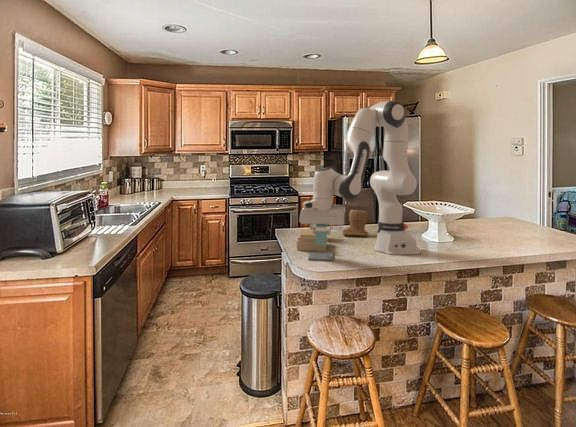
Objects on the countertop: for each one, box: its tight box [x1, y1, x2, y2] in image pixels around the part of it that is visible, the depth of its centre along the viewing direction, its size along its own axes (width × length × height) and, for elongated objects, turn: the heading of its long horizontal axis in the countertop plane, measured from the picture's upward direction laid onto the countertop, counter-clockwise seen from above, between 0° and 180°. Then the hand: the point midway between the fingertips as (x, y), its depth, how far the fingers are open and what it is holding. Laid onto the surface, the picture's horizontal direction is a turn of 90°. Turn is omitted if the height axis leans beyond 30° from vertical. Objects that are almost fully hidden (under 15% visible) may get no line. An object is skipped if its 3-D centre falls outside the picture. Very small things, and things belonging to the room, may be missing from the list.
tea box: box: [315, 224, 328, 246], centre depth 176 cm, size 5×6×9 cm
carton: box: [296, 228, 328, 252], centre depth 196 cm, size 14×20×7 cm
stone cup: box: [342, 209, 369, 237], centre depth 223 cm, size 15×12×15 cm
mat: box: [307, 251, 334, 262], centre depth 178 cm, size 11×11×1 cm
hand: (321, 234), depth 176 cm, fingers closed on tea box, 5 cm apart
